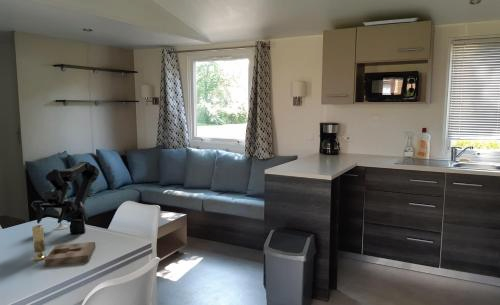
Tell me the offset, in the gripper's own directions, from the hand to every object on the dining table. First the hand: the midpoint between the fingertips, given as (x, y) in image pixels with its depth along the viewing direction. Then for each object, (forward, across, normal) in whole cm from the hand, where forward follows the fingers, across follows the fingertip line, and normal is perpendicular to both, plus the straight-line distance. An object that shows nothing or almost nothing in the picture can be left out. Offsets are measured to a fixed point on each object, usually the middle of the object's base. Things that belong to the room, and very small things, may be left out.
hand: (48, 223), depth 162 cm
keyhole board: (+14, +12, +5) cm, 19 cm away
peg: (+15, 0, +4) cm, 15 cm away
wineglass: (-14, -14, +33) cm, 38 cm away
